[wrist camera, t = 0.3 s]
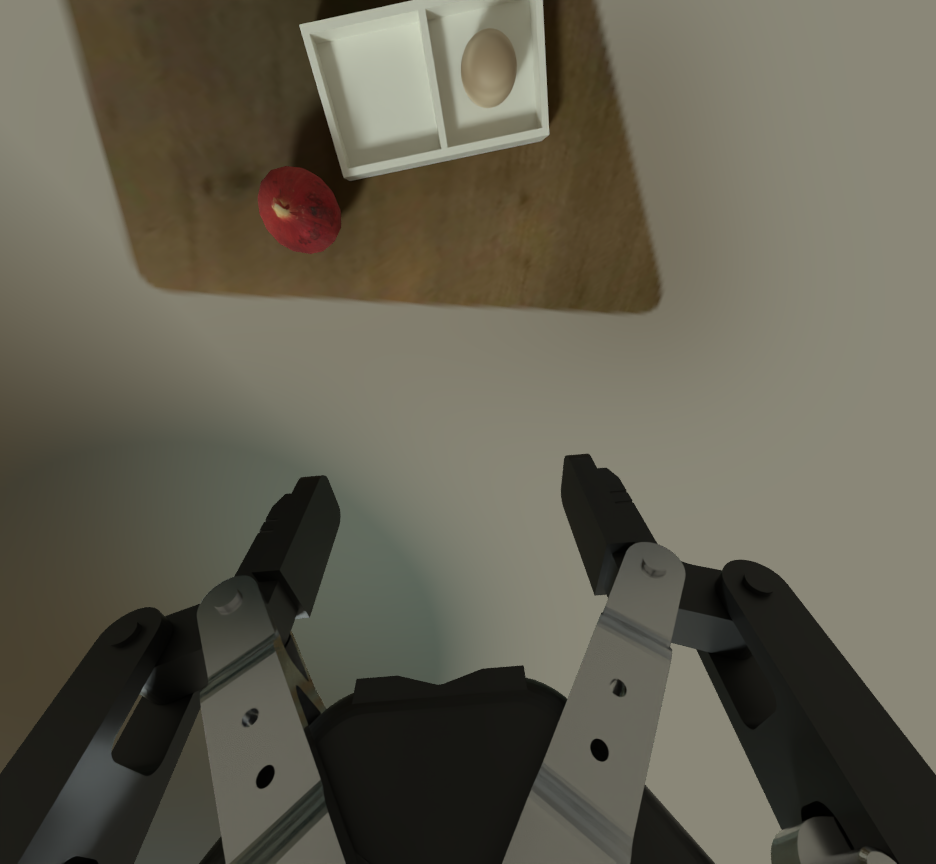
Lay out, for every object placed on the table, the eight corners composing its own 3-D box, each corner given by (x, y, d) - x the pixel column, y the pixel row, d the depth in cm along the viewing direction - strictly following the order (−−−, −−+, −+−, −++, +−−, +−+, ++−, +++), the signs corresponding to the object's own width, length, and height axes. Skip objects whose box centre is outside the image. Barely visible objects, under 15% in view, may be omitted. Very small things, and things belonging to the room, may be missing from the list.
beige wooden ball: (454, 49, 26) (457, 22, 23) (507, 38, 26) (519, 8, 23) (464, 119, 28) (468, 104, 25) (513, 108, 28) (525, 92, 25)
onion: (348, 179, 30) (323, 165, 23) (350, 255, 33) (328, 262, 26) (275, 167, 29) (226, 149, 22) (283, 245, 32) (242, 250, 25)
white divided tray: (309, 41, 26) (299, 24, 24) (532, -7, 26) (541, -28, 24) (349, 181, 30) (343, 177, 28) (541, 141, 30) (549, 134, 28)
